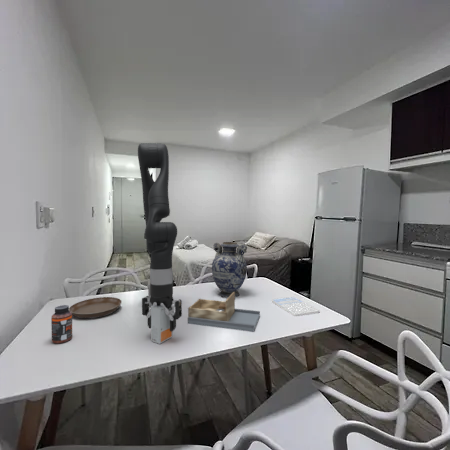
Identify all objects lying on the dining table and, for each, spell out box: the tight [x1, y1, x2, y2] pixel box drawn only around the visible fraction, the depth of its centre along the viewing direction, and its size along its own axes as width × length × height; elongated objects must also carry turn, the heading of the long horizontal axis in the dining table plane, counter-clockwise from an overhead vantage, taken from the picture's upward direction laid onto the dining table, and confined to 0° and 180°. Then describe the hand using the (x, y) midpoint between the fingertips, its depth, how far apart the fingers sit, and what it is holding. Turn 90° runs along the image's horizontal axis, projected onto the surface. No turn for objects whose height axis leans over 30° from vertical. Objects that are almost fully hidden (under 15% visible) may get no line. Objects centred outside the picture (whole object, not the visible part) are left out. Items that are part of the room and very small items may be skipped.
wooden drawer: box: [187, 292, 236, 321], centre depth 106 cm, size 16×12×9 cm
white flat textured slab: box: [271, 296, 321, 317], centre depth 120 cm, size 13×20×2 cm, turn 19°
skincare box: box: [150, 305, 173, 345], centre depth 88 cm, size 6×4×12 cm
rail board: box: [187, 308, 261, 332], centre depth 105 cm, size 26×15×2 cm, turn 74°
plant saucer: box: [69, 296, 122, 319], centre depth 114 cm, size 21×21×3 cm
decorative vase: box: [211, 241, 248, 298], centre depth 138 cm, size 21×19×28 cm
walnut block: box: [219, 303, 226, 312], centre depth 108 cm, size 4×4×3 cm
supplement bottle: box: [50, 304, 73, 344], centre depth 87 cm, size 6×6×11 cm
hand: (161, 328), depth 88 cm, fingers open, 7 cm apart
